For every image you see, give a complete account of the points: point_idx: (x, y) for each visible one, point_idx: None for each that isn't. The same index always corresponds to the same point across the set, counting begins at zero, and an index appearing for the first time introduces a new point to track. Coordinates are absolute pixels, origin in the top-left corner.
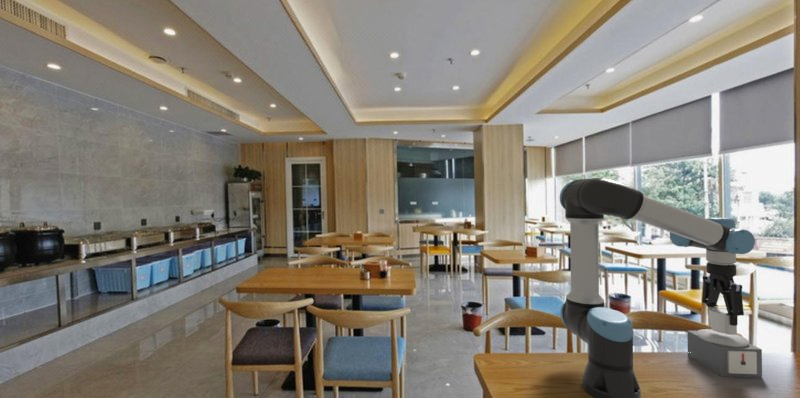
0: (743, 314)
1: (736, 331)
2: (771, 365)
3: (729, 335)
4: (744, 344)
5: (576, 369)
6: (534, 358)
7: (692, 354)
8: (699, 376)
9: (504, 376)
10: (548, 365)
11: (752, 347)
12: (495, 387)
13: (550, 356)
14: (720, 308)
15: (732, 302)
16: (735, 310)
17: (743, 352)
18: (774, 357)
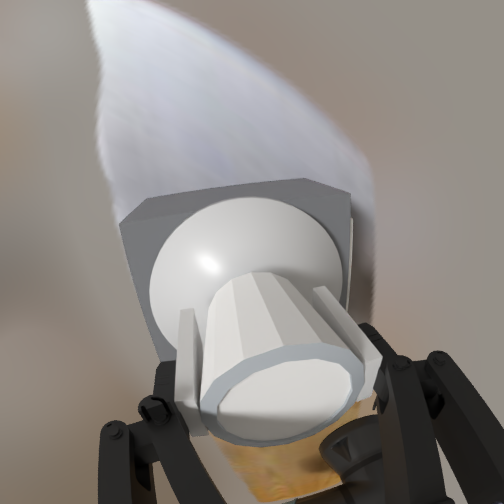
0: (446, 355)
1: (332, 296)
2: (200, 79)
3: (228, 257)
4: (338, 255)
5: (294, 462)
6: (264, 484)
7: None
8: None
9: (313, 486)
10: (284, 476)
11: (333, 218)
12: (334, 483)
13: (254, 478)
14: (221, 398)
15: (451, 448)
16: (443, 405)
17: (349, 265)
18: (130, 34)
